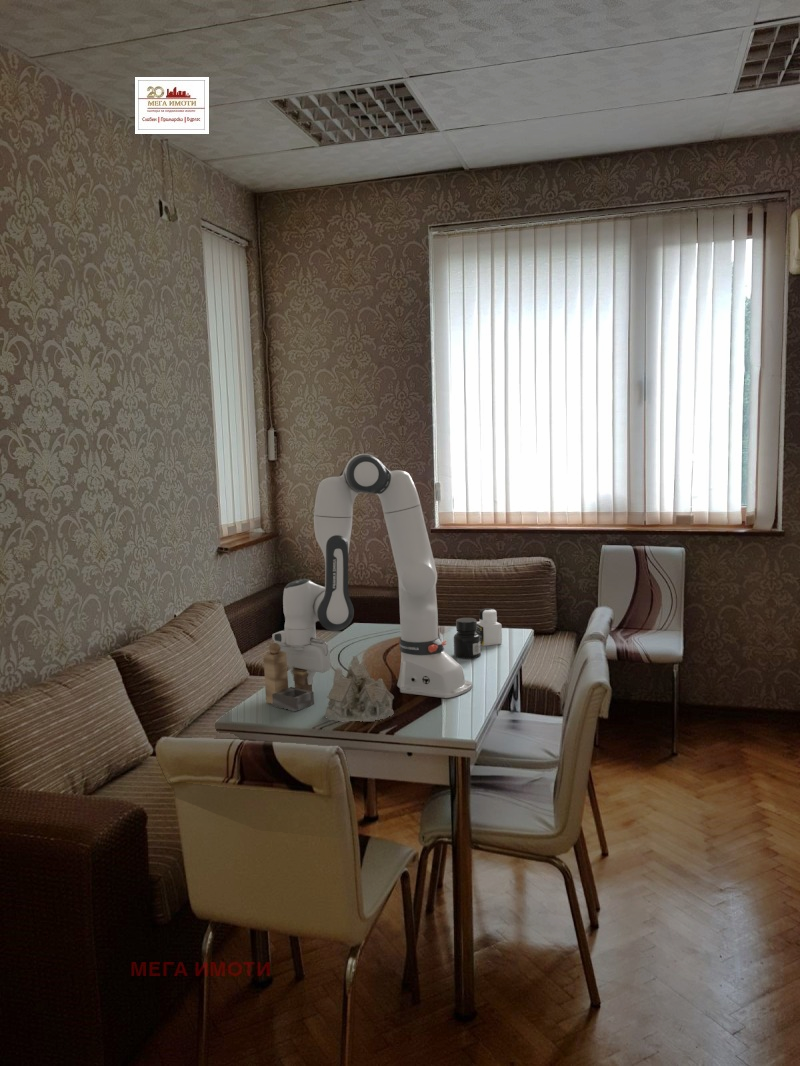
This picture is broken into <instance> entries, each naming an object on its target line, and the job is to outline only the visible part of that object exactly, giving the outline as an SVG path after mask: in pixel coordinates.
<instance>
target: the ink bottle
mask: <svg viewBox="0 0 800 1066" xmlns="http://www.w3.org/2000/svg"><path fill="white" fill-rule="evenodd" d="M477 622H478V621H477V619H476V618H473V617H461V618H456V621H455V624H456V625H455V628H456V633H455V634H454V635H453V654H454V656H455V657H456V658H459V659H472V658H473V659H474V658H478V657H480V656H481V651H482V650H481V648H482V646H481V644H480V635H479V634H478V633H477V632H476V631H477Z"/></svg>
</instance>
